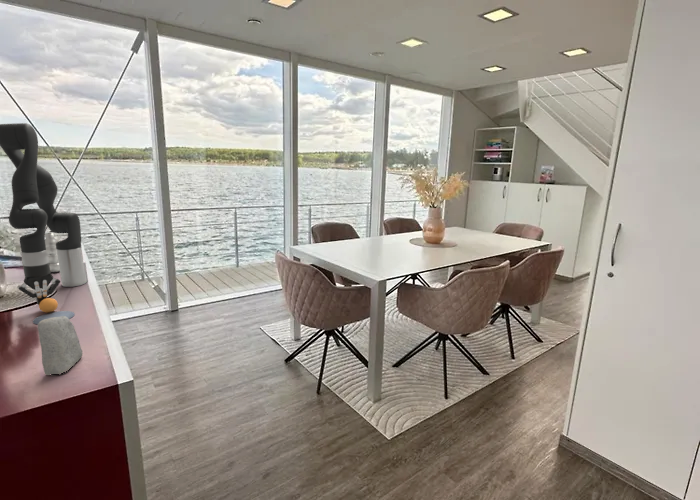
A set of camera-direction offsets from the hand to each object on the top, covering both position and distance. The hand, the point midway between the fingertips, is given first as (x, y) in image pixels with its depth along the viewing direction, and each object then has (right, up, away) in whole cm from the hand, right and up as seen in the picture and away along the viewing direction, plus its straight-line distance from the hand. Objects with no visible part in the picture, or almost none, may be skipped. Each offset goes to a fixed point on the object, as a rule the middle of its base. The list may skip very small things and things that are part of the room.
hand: (43, 306), depth 142 cm
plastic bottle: (-34, +10, +48) cm, 60 cm away
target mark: (+9, -3, -6) cm, 12 cm away
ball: (+4, +1, -2) cm, 4 cm away
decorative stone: (+37, -11, -37) cm, 54 cm away
